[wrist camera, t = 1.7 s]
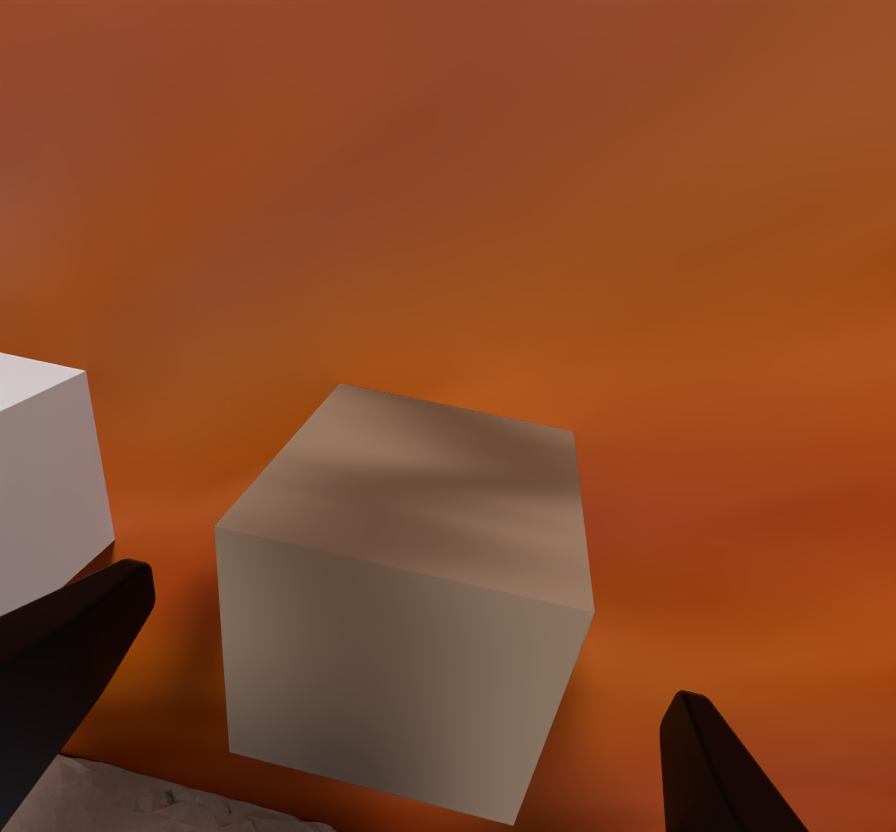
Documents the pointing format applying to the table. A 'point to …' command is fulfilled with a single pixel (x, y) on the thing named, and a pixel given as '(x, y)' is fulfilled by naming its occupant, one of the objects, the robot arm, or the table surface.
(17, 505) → the white cube
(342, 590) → the walnut cube
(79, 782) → the brick
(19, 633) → the robot arm
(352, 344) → the table surface
